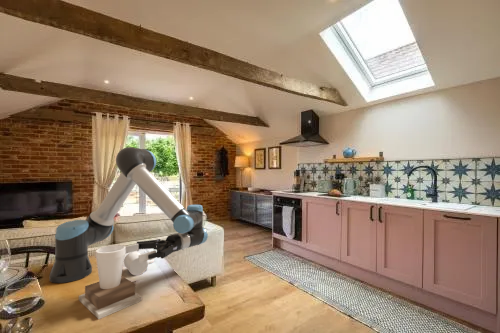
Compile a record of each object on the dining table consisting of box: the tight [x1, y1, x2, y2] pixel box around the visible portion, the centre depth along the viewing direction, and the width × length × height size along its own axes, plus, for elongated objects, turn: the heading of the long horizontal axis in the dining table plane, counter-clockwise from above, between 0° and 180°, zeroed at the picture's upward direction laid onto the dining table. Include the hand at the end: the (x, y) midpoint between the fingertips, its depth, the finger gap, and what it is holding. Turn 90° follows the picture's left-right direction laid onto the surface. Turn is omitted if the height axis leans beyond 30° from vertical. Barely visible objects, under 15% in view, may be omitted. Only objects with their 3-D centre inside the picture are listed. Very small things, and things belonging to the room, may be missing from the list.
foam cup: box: [95, 244, 127, 289], centre depth 87 cm, size 10×9×13 cm
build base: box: [78, 275, 143, 320], centre depth 87 cm, size 18×14×6 cm
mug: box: [123, 251, 155, 276], centre depth 113 cm, size 12×10×8 cm
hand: (130, 254), depth 92 cm, fingers open, 13 cm apart
